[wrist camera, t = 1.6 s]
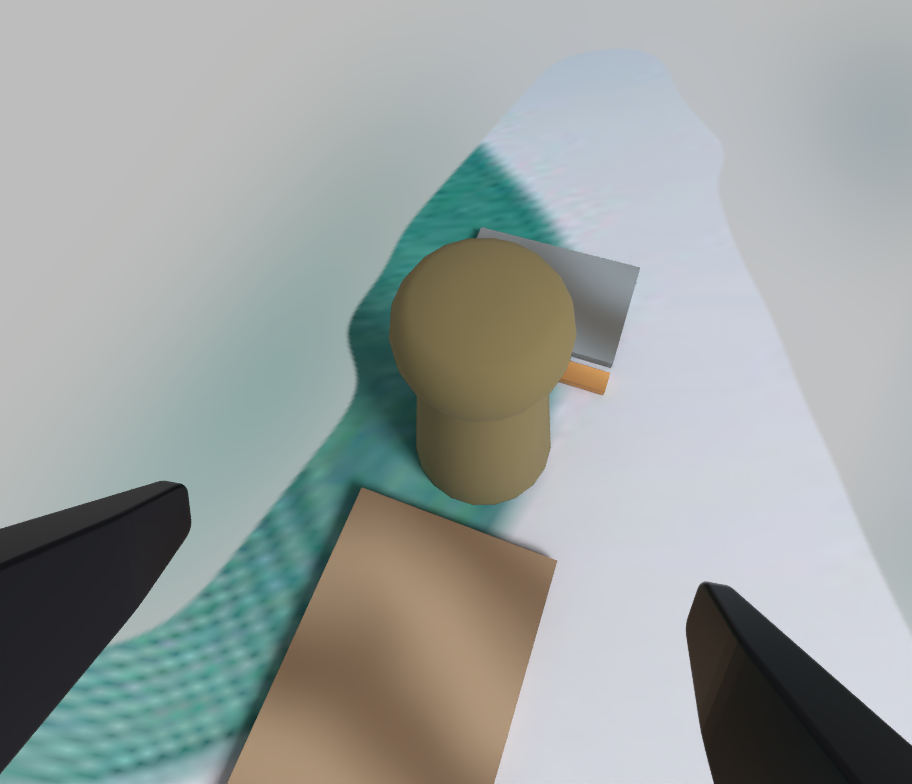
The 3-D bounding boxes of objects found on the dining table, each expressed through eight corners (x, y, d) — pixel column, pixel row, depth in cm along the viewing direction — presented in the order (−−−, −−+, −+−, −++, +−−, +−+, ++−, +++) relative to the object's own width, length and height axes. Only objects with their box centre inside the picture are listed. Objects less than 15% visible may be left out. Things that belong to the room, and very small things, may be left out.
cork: (388, 438, 23) (313, 296, 13) (481, 354, 24) (479, 168, 14) (484, 535, 21) (483, 457, 11) (579, 437, 22) (655, 288, 12)
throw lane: (404, 1092, 15) (401, 1110, 14) (161, 941, 16) (150, 952, 16) (637, 272, 26) (641, 265, 25) (481, 232, 28) (481, 224, 27)
